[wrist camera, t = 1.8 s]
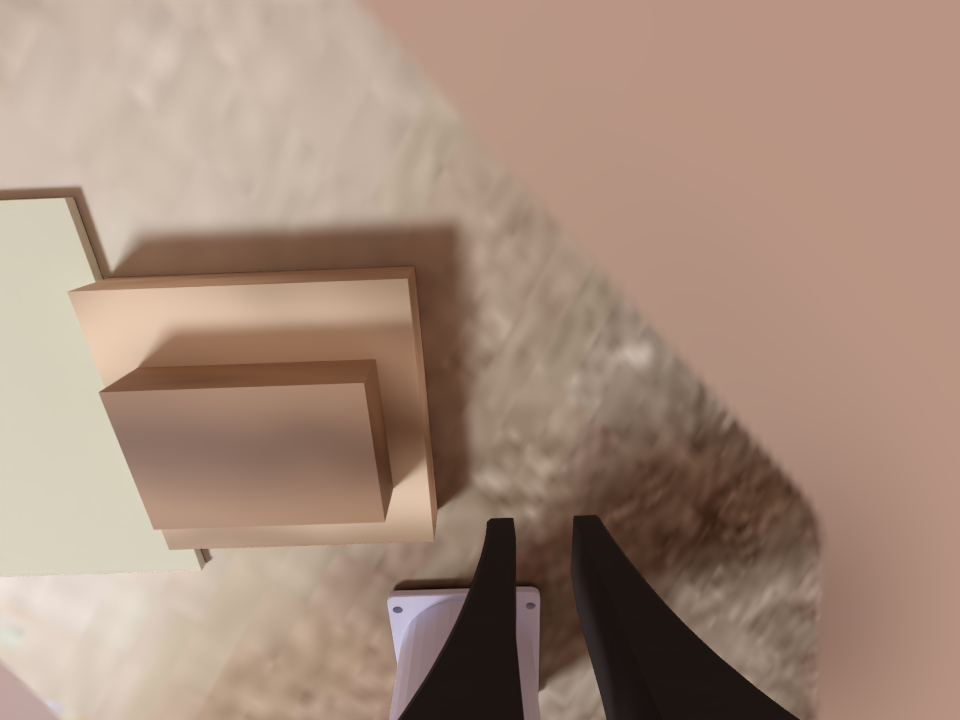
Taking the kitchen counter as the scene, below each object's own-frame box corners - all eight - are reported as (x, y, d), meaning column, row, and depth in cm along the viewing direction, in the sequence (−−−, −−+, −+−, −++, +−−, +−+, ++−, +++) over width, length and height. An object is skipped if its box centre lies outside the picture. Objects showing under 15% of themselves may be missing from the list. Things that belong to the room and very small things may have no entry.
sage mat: (205, 564, 25) (201, 570, 24) (2, 570, 25) (-5, 576, 24) (73, 197, 17) (64, 198, 17) (-213, 208, 18) (-227, 209, 17)
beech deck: (437, 510, 23) (434, 541, 21) (193, 518, 23) (169, 549, 22) (414, 265, 18) (407, 278, 17) (107, 277, 19) (67, 291, 17)
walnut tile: (393, 488, 20) (384, 522, 18) (183, 495, 20) (153, 529, 19) (375, 359, 18) (363, 382, 16) (136, 367, 18) (98, 392, 16)
